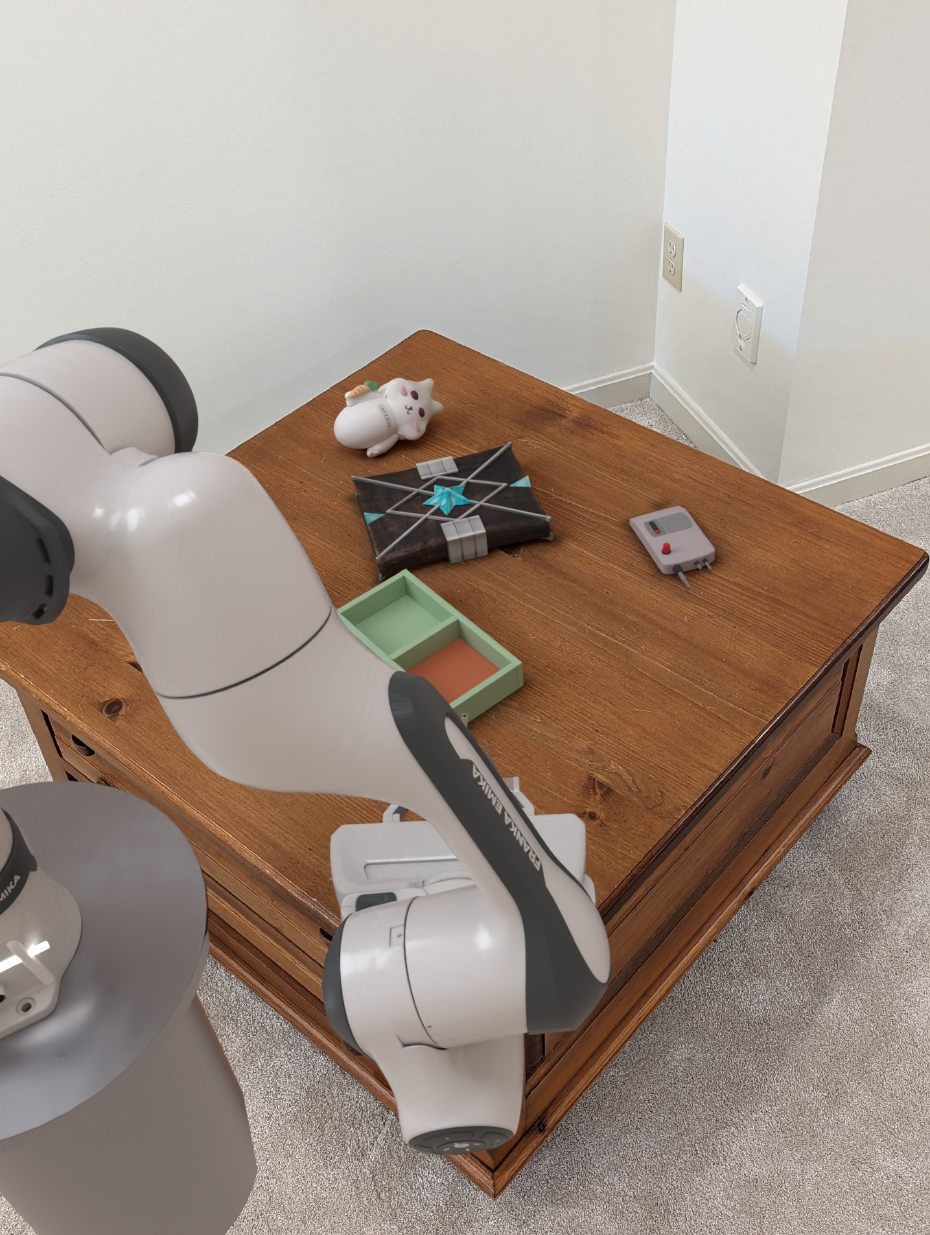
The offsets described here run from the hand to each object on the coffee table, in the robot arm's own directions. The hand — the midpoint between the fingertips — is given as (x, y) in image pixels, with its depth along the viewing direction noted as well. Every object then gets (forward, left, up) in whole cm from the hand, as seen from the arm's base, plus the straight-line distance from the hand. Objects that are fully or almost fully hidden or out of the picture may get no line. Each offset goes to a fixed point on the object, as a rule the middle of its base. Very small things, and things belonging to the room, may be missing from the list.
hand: (458, 783), depth 100 cm
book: (+32, +43, -17) cm, 57 cm away
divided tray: (+15, +26, -17) cm, 35 cm away
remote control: (+48, +20, -17) cm, 55 cm away
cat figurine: (+37, +62, -17) cm, 75 cm away
